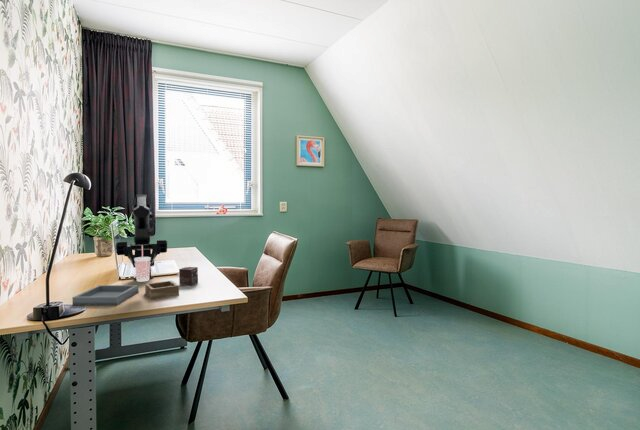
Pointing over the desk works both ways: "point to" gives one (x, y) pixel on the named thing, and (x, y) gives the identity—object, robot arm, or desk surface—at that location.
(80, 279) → the desk surface
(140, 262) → the beverage cup
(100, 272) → the desk surface
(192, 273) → the box
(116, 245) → the robot arm
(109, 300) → the charcoal tray
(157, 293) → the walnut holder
